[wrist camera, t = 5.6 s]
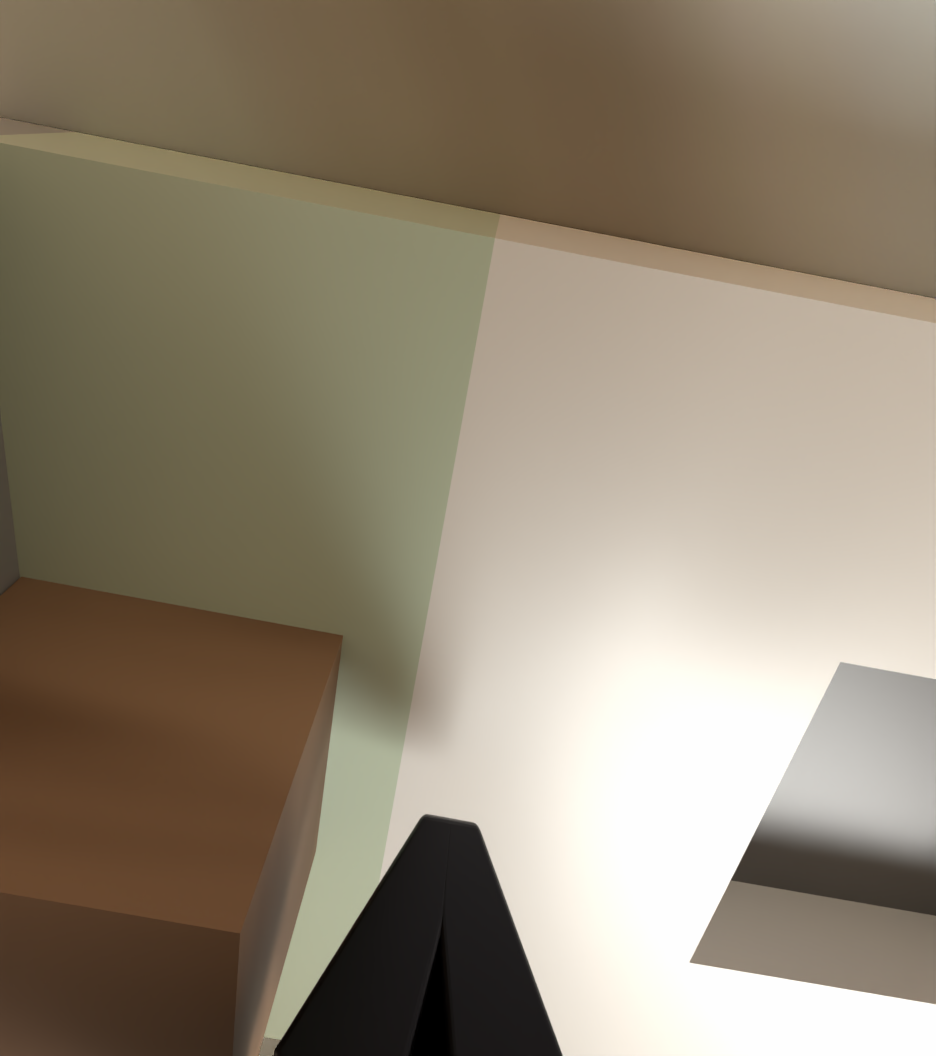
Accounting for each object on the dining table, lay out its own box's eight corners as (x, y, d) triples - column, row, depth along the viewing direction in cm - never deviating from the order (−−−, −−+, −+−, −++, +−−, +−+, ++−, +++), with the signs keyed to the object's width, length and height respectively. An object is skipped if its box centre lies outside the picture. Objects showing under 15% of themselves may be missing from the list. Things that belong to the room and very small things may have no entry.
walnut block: (316, 851, 12) (225, 1174, 8) (46, 804, 11) (-165, 1110, 8) (343, 635, 10) (240, 932, 6) (21, 576, 10) (-272, 845, 6)
